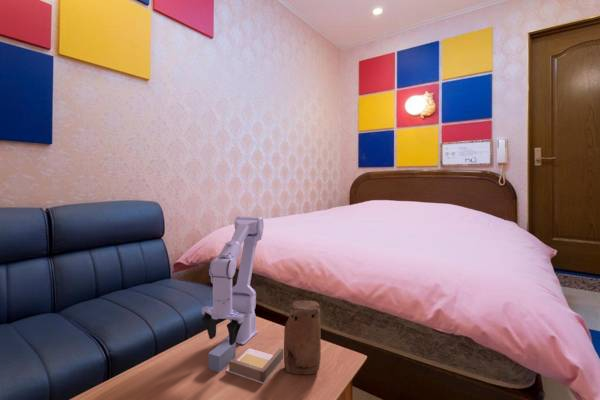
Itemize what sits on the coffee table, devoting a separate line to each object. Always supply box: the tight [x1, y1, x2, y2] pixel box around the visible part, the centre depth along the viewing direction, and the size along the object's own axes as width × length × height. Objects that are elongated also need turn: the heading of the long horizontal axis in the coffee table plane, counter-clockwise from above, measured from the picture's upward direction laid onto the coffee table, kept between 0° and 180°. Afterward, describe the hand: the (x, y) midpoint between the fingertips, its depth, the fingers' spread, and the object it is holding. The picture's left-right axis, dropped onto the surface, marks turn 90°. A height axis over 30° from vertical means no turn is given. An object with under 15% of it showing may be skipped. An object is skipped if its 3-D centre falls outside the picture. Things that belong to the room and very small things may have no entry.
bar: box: [208, 339, 237, 373], centre depth 89 cm, size 8×4×5 cm, turn 157°
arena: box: [225, 347, 284, 385], centre depth 88 cm, size 12×13×3 cm
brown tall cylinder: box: [283, 299, 322, 375], centre depth 86 cm, size 11×8×20 cm
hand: (222, 340), depth 88 cm, fingers open, 7 cm apart
